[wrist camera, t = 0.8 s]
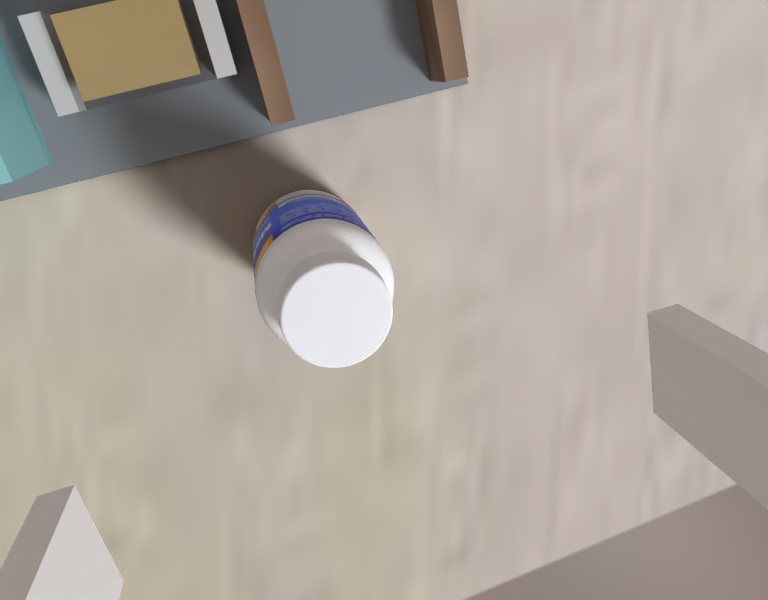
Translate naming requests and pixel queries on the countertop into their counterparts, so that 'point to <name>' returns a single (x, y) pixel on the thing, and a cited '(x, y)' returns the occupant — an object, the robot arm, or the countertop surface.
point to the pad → (126, 45)
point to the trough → (437, 37)
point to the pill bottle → (322, 279)
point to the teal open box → (17, 128)
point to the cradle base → (68, 100)
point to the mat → (228, 86)
